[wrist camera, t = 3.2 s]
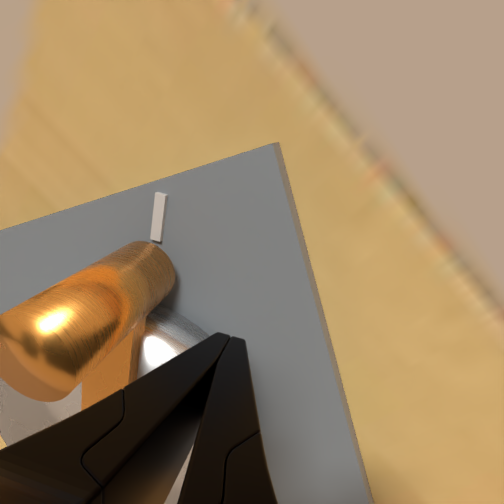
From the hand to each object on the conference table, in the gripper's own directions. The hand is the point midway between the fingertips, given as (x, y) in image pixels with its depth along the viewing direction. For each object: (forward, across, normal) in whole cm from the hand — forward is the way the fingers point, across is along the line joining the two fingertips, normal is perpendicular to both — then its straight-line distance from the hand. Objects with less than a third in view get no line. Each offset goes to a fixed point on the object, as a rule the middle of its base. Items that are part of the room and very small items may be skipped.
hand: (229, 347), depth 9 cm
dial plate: (+5, +4, +7) cm, 10 cm away
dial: (+3, +4, +6) cm, 8 cm away
